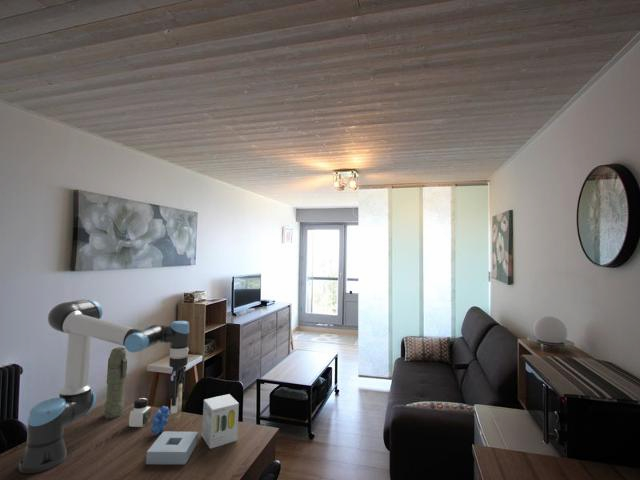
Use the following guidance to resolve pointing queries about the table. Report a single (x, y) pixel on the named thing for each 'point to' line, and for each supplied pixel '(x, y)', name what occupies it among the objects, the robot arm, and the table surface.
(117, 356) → the thermos
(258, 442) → the table surface
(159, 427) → the grapes
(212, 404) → the supplement box
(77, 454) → the table surface
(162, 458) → the socket block
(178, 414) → the peg
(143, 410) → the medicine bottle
